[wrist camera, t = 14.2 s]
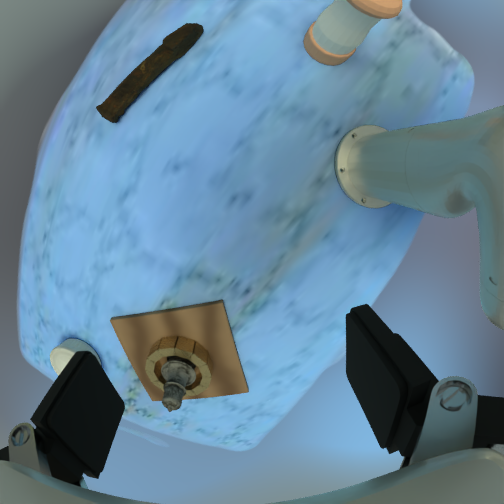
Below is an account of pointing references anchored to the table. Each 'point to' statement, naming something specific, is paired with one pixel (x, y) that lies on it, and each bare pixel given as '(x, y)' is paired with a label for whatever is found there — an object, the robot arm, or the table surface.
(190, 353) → the wooden ring
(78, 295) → the table surface
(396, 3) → the pepper shaker
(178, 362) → the stone chess piece
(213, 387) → the wooden board
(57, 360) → the ramekin
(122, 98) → the brown long rounded piece
